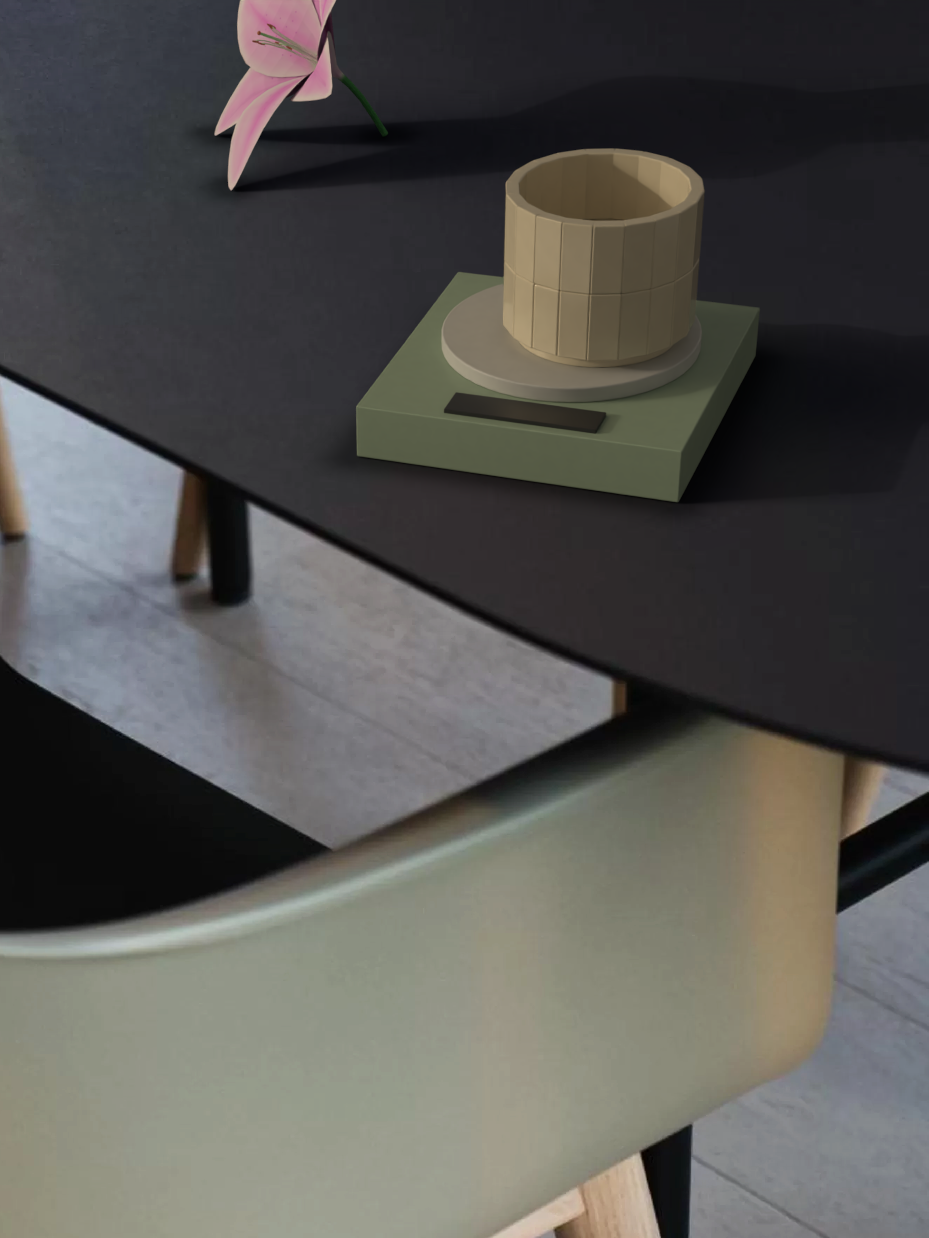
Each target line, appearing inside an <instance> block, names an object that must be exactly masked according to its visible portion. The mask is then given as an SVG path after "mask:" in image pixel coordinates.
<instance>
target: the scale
mask: <svg viewBox="0 0 929 1238" xmlns="http://www.w3.org/2000/svg"><path fill="white" fill-rule="evenodd" d="M502 309H503V276H497V275H488V274H479V273H471V272H462V271H458V272H457V273H456V274H455V275H454V277H453V278H452V280H451V281H450V282H449V284H448V285H447V286H446V287H445V289H444V290H443V291H442V293H441V294H440V295H439V296H438V297H437V299H436V301H435V302H434V303H433V305H432V306H431V307H430V308H429V310H428V311H427V312H426V314H425V315H424V316H423V317H422V319H421V320H420V322H419V323H418V324H417V326H416V327H415V328H414V330H413V331H412V333H410V334H409V336H408V337H407V338H406V340H405V342H404V343H403V344H402V345H401V347H400V348H399V350H397V352H396V353H395V355H394V356H393V357H392V358H391V360H390V361H389V362H388V364H387V365H386V367H385V368H384V369H383V371H381V373H380V374H379V376H377V378H376V380H375V381H374V382H373V384H372V385H371V386H370V388H369V389H368V391H367V392H366V393H365V394H364V395H363V397H362V398H361V399H360V401H359V402H358V403H357V405H356V408H355V411H356V412H355V413H356V414H355V417H356V456H357V457H361V458H369V459H376V460H382V461H389V462H396V463H402V464H410V465H416V466H422V467H423V466H424V467H431V468H438V469H443V470H452V471H458V472H463V473H464V472H465V473H472V474H479V475H486V476H493V477H501V478H506V479H513V480H522V481H527V482H533V483H534V482H535V483H542V484H547V485H554V486H555V485H556V486H561V487H568V488H575V489H583V490H590V491H597V492H604V493H610V494H618V495H624V496H630V497H631V496H632V497H638V498H645V499H651V500H652V499H653V500H658V501H665V502H671V503H672V502H673V503H679V502H680V500H681V498H682V496H683V494H684V493H685V491H686V489H687V487H688V486H689V483H690V481H691V479H692V477H693V475H694V473H695V472H696V470H697V467H699V465H700V463H701V461H702V459H703V457H704V454H705V452H706V451H707V449H708V447H709V445H710V443H711V441H712V440H713V437H714V435H715V433H716V432H717V430H718V428H719V426H720V424H721V422H722V420H723V418H724V416H725V415H726V413H727V411H728V409H729V407H730V405H731V403H732V401H733V399H734V397H735V396H736V394H737V392H738V390H739V388H740V386H741V384H742V382H743V380H744V379H745V376H746V375H747V373H748V371H749V369H750V367H751V365H752V363H753V362H754V359H755V358H756V354H757V345H758V343H757V342H758V334H759V333H758V332H759V324H760V323H759V322H760V311H761V309H760V307H758V306H757V307H755V306H748V305H740V304H739V305H738V304H733V303H732V304H730V303H723V302H716V301H715V302H714V301H713V302H712V301H706V300H698V299H697V300H696V313H695V322H694V324H693V325H692V327H691V329H690V331H689V332H688V334H687V336H686V337H684V338H683V339H681V340H680V341H678V342H677V343H676V344H675V345H674V346H673V347H672V348H671V349H669V350H668V351H666V352H665V353H663V354H661V355H659V356H657V357H655V358H652V359H650V360H647V361H643V362H640V363H636V364H631V365H625V366H617V367H580V366H572V365H566V364H561V363H557V362H553V361H550V360H547V359H544V358H541V357H539V356H537V355H535V354H533V353H531V352H530V351H528V350H527V349H525V348H524V347H523V346H522V345H521V344H520V343H519V341H517V340H516V339H514V337H512V336H511V334H510V333H509V332H508V331H507V329H506V328H505V327H504V326H503V314H502Z"/></svg>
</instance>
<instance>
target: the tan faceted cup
mask: <svg viewBox="0 0 929 1238" xmlns="http://www.w3.org/2000/svg"><path fill="white" fill-rule="evenodd" d="M704 185H705V184H704V180H703V178H702V177H701V176H700V175H699V174H698V173H697V172H696V171H695V170H694V169H693V168H692V167H690V166H689V165H687V164H685V163H683V162H680V161H678V160H677V159H674V158H671V157H669V156H665V155H660V154H657V153H652V152H648V151H643V150H636V149H635V150H634V149H624V148H615V147H614V148H613V147H612V148H583V149H581V148H580V149H576V150H568V151H561V152H557V153H553V154H550V155H546V156H543V157H540V158H536V159H533V160H531V161H529V162H527V163H525V164H524V165H522V166H520V167H519V168H517V169H515V170H514V171H513V172H512V173H511V175H510V176H509V177H508V179H507V180H506V182H505V185H504V186H505V187H504V223H503V224H504V225H503V226H504V227H503V228H504V229H503V270H502V271H503V273H502V277H503V309H502V314H503V326H504V327H505V328H506V329H507V331H508V332H509V333H510V334H511V336H512V337H514V339H516V340H517V341H519V343H520V344H521V345H522V346H523V347H524V348H525V349H527V350H528V351H530V352H531V353H533V354H535V355H537V356H539V357H541V358H544V359H547V360H550V361H553V362H557V363H561V364H566V365H572V366H580V367H617V366H625V365H631V364H636V363H640V362H643V361H647V360H650V359H652V358H655V357H657V356H659V355H661V354H663V353H665V352H666V351H668V350H669V349H671V348H672V347H673V346H674V345H675V344H676V343H677V342H678V341H680V340H681V339H683V338H684V337H686V336H687V334H688V332H689V331H690V329H691V327H692V325H693V324H694V322H695V313H696V300H698V299H697V298H698V286H699V285H698V284H699V274H700V273H699V272H700V260H701V259H700V256H701V246H702V233H703V222H704V221H703V220H704V207H705V193H706V190H705V186H704Z"/></svg>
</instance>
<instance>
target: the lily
mask: <svg viewBox="0 0 929 1238" xmlns="http://www.w3.org/2000/svg"><path fill="white" fill-rule="evenodd" d="M336 1H337V0H239V5H238V10H237V11H238V12H237V21H236V22H237V23H236V26H237V42H238V47H239V52H240V55H241V57H242V59H243V61H244V63H245V65H247V66H249V68H248V70H247V71H246V73H245V74H244V75H243V77H242V78H241V79H240V81H239V82H238V83H237V84H238V85H237V86H236V87H235V89H234V91H233V92H232V95H230V98H229V99H228V101H227V103H226V105H225V107H224V109H223V111H222V113H221V115H220V116H219V119H218V121H217V123H216V126H215V129H214V136H218V135H219V134H222V133H223V132H225V131H226V130H228V129H229V128H231V127H233V126H234V125H235V126H234V130H233V133H232V136H231V141H230V148H229V155H228V164H227V165H228V166H227V182H228V183H227V184H228V189H229V190H230V191H232V190H234V188H235V187H236V185H237V183H238V181H239V179H240V177H241V175H242V173H243V171H244V169H245V167H246V165H247V163H248V161H249V158H250V157H251V155H252V152H253V150H254V148H255V146H256V144H257V142H258V140H259V138H260V136H261V135H262V132H263V131H264V128H265V127H266V126H267V124H268V122H269V121H270V119H271V117H273V115H274V113H275V111H276V110H277V109H278V108H279V106H280V105H281V104H282V102H283V101H284V100H286V99H287V98H289V97H290V98H289V101H291V102H309V101H311V102H312V101H318V100H323V99H326V98H329V96H330V95H332V91H333V78H335V79H337V80H339V82H340V83H342V85H344V86H345V87H346V88H347V89H349V90H350V92H351V93H352V94H353V96H354V97H356V98H357V100H358V101H359V102H360V104H361V105H362V107H363V108H364V110H365V111H366V113H367V114H368V116H369V117H370V119H371V120H372V122H373V123H374V125H375V127H376V129H377V130H378V131H379V133H380V135H381V136H382V137H386V136H387V135H389V132H388V130H387V129H386V127H385V125H384V124H383V122H382V121H381V119H380V118H379V115H378V114H377V113H376V110H374V108H373V106H372V105H371V104H370V102H369V101H368V99H367V98H366V96H365V95H364V93H362V91H361V90H360V89H359V88H358V87H357V86H356V85H355V83H354V82H353V81H352V80H351V79H349V78H348V77H347V75H345V73H343V72H342V71H341V69H340V67H339V66H338V61H337V54H336V45H335V43H336V42H335V36H334V24H333V16H332V15H333V14H332V10H333V7H334V5H335V3H336Z"/></svg>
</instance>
